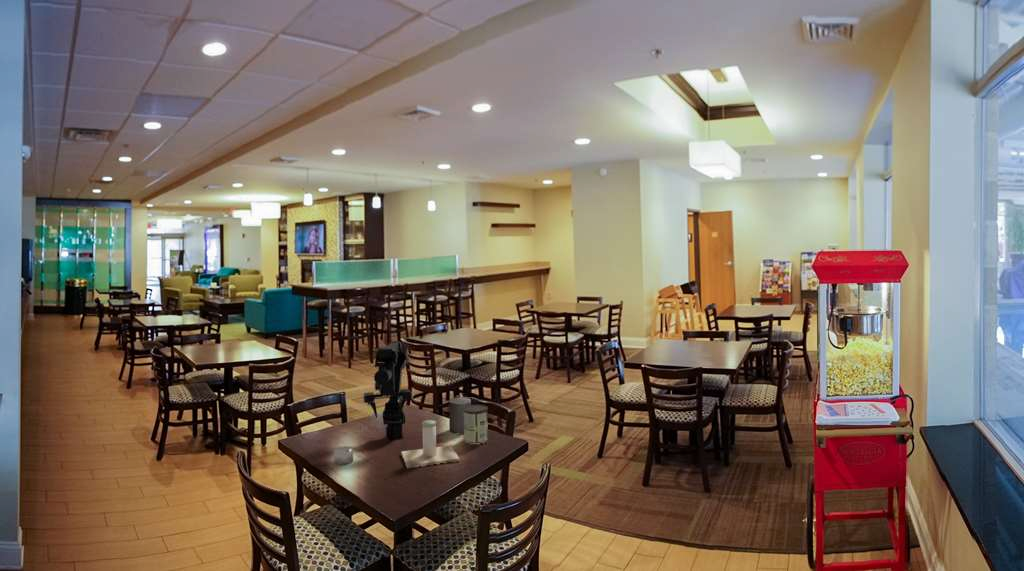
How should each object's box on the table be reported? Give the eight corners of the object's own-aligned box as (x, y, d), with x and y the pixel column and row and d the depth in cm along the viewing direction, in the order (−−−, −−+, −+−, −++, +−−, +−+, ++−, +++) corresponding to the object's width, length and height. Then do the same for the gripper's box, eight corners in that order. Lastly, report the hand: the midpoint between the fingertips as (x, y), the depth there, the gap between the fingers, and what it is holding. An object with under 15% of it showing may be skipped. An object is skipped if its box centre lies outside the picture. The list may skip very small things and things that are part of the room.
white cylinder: (429, 451, 227) (429, 419, 226) (439, 454, 224) (438, 421, 223) (419, 455, 223) (419, 422, 222) (429, 458, 220) (428, 425, 219)
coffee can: (471, 435, 249) (470, 403, 248) (492, 438, 245) (491, 406, 244) (459, 442, 240) (458, 409, 239) (480, 446, 236) (480, 412, 235)
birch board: (450, 448, 234) (450, 445, 234) (459, 461, 219) (459, 458, 219) (401, 454, 227) (401, 451, 227) (406, 468, 213) (406, 465, 213)
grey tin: (352, 457, 224) (352, 445, 224) (353, 464, 218) (353, 451, 217) (334, 460, 222) (333, 447, 222) (334, 466, 215) (334, 453, 215)
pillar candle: (445, 429, 257) (444, 397, 256) (463, 425, 263) (463, 393, 261) (456, 435, 249) (456, 402, 248) (475, 430, 255) (475, 398, 254)
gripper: (407, 372, 244) (407, 409, 245) (361, 376, 238) (362, 413, 239) (411, 378, 233) (412, 416, 234) (364, 382, 227) (365, 421, 228)
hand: (387, 416), depth 234 cm, fingers open, 9 cm apart
